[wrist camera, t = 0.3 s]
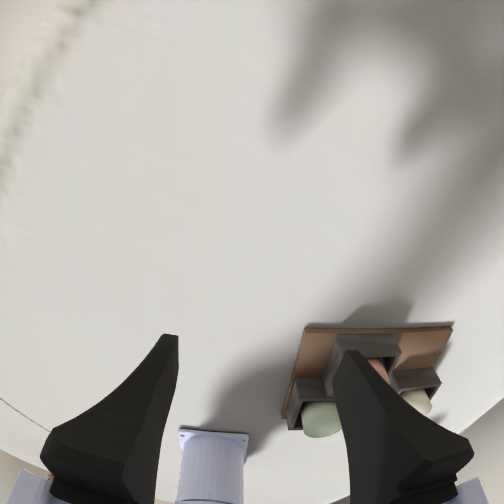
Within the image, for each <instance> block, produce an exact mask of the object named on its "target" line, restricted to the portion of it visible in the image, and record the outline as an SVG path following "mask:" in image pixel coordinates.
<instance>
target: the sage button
mask: <svg viewBox="0 0 504 504" xmlns="http://www.w3.org/2000/svg"><path fill="white" fill-rule="evenodd" d="M300 411H301V417H302V424H303V430H304V434H305V435H307V436H309V437H313V438H321V437H326V436H330V435H332V434H334V433H336V432H338V431H339V430H340V429H341V428H342V427H341V423H340V419H339V415H338V412H337V408H336V404H335V401H306V402H303V403H302V405H301V408H300Z"/></svg>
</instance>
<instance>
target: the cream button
mask: <svg viewBox="0 0 504 504" xmlns="http://www.w3.org/2000/svg"><path fill="white" fill-rule="evenodd" d="M400 396H401V397H402V398H403V399H404V400H405V401H407V402H408V403H409V404H410V405H411V406H413V407H414V408H415V409H416V410H418V411H419V412H420V413H422V414H423V415H424V416H426V415H427V414H428V413H429V412H430V410H431V408H432V405H431V402H430V400H429V398H428V396H427V394H426V392H425V390H424V388H423V389H416V390H409V391H402V392H401V393H400Z"/></svg>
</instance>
